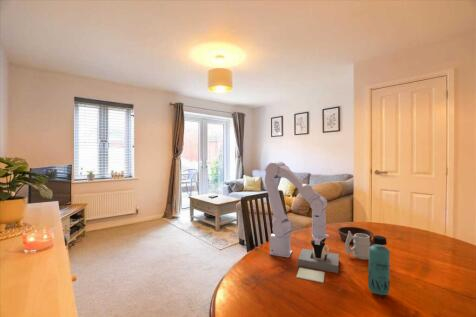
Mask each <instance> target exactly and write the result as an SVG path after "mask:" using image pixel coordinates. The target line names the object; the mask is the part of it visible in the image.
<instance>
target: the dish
mask: <svg viewBox="0 0 476 317" xmlns="http://www.w3.org/2000/svg"><path fill="white" fill-rule="evenodd" d="M348 231H350V232H351V234H352V236H354V234H356V233H362V234H366V235H368V236H369V237H370V246H372V245H373V240H371V239H373V236H375V235H374V233H373V232H372V231H371V230H368V229H366V228H362V227H356V226H341V227H339V228H337V232H338V234H339V236H340V239H342V240H344V241H345V242H346V239H347V236H348ZM353 240H354V239H351V241H350V243H351V244H354V242H353ZM350 243H349V244H350Z"/></svg>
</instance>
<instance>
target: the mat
mask: <svg viewBox="0 0 476 317" xmlns="http://www.w3.org/2000/svg"><path fill="white" fill-rule="evenodd" d="M325 275H326V271H323V270H317V269H312V268H306V267H299V268H298V271H297V274H296V276H295V277H296V278H297V279H302V280H306V281H312V282H317V283H322V284H324V282H325Z"/></svg>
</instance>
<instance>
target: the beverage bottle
mask: <svg viewBox="0 0 476 317" xmlns="http://www.w3.org/2000/svg"><path fill="white" fill-rule="evenodd" d="M373 243H374V244H373ZM390 255H391V251H390V250H389V249H388V247H387V238H386V237H385V236H383V235H373V237H372V245H370V247H369V259H368V269H367V272H368V274H367V287H368V289H369V291H371V292H372V293H374V294H377V295H379V296H386V295H388V294H389V293H390V289H391V283H390V282H391V281H390V276H391V275H390V269H391V268H390V267H391V264H390V262H391V261H390V260H391V259H390Z"/></svg>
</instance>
